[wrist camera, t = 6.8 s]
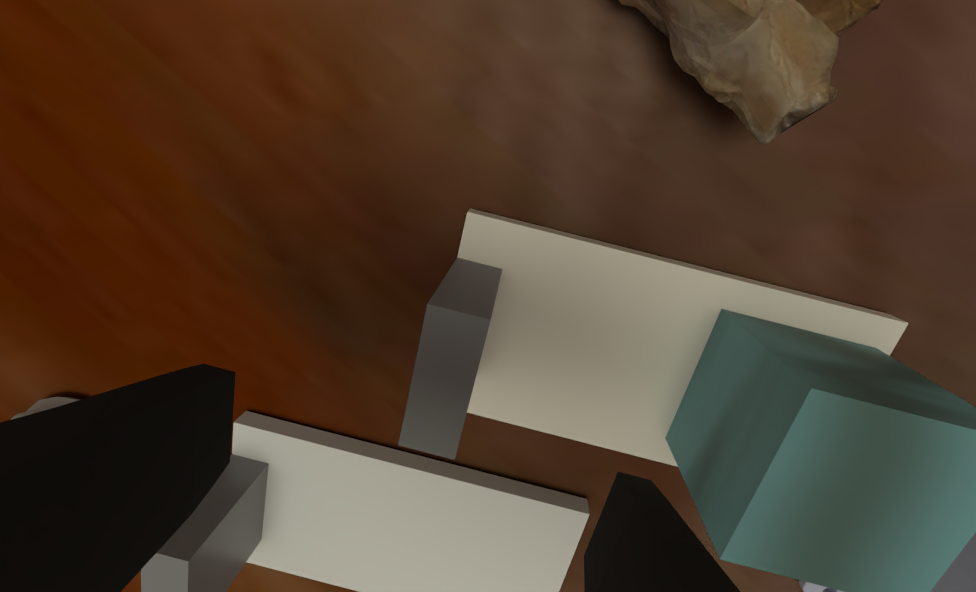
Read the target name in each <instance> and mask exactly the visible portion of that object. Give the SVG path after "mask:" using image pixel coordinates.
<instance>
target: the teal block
mask: <svg viewBox="0 0 976 592" xmlns="http://www.w3.org/2000/svg"><path fill="white" fill-rule="evenodd" d="M665 439H666V441H667V443H668V445H669V448H670V450H671V452H672V454H673V457H674V459H675V461H676V463H677V465H678V468H679V470H680V472H681V474H682V477H683V479H684V481H685V483H686V486H687V488H688V490H689V492H690V494H691V497H692V499H693V501H694V503H695V506H696V508H697V510H698V512H699V515H700V517H701V519H702V521H703V523H704V526H705V528H706V530H707V532H708V535H709V537H710V539H711V541H712V544H713V546H714V548H715V550H716V552H717V555H718V557H719V559H720V560H724V561H728V562H732V563H736V564H739V565H743V566H747V567H751V568H755V569H759V570H763V571H766V572H770V573H774V574H778V575H782V576H786V577H790V578H794V579H797V580H801V581H805V582H809V583H813V584H817V585H821V586H824V587H828V588H832V589H836V590H840V591H844V592H930V591H931V590H932V589H933V587H934V586H935V585H936V584H937V582H938V581H939V580H940V578H941V577H942V576H943V574H944V573H945V572H946V570H947V569H948V568H949V567H950V565H951V564H952V563H953V561H954V560H955V559H956V557H957V556H958V555H959V553H960V552H961V551H962V550H963V548H964V547H965V546H966V544H967V543H968V542H969V540H970V539H971V538H972V536H973V535H974V534H975V533H976V407H974V406H972V405H971V404H969V403H967V402H966V401H964V400H962V399H961V398H959V397H957V396H956V395H954V394H952V393H951V392H949V391H947V390H946V389H944V388H942V387H941V386H939V385H937V384H936V383H934V382H932V381H931V380H929V379H927V378H926V377H924V376H922V375H921V374H919V373H917V372H916V371H914V370H912V369H911V368H909V367H907V366H906V365H904V364H902V363H901V362H899V361H897V360H896V359H894V358H892V357H891V356H889V355H887V354H886V353H884V352H882V351H881V350H879V349H877V348H875V347H871V346H867V345H863V344H859V343H855V342H851V341H847V340H843V339H839V338H835V337H831V336H827V335H823V334H819V333H815V332H811V331H808V330H804V329H800V328H796V327H792V326H788V325H784V324H780V323H776V322H772V321H768V320H764V319H760V318H756V317H752V316H748V315H744V314H740V313H736V312H733V311H729V310H725V309H721V311H720V313H719V315H718V318H717V320H716V322H715V325H714V327H713V329H712V332H711V334H710V336H709V338H708V341H707V343H706V345H705V348H704V350H703V352H702V355H701V357H700V359H699V361H698V364H697V366H696V368H695V371H694V373H693V375H692V378H691V380H690V382H689V385H688V387H687V389H686V391H685V394H684V396H683V398H682V401H681V403H680V405H679V408H678V410H677V412H676V414H675V417H674V419H673V421H672V424H671V426H670V428H669V431H668V433H667V435H666V437H665Z"/></svg>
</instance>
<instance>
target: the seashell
mask: <svg viewBox="0 0 976 592" xmlns="http://www.w3.org/2000/svg"><path fill="white" fill-rule="evenodd" d="M618 1H619V2H620V3H621V4H622V5H627V6H632V7H636V8H637V9H638V10H640V11H641V12H642V13H643V14H644V15H645V16H646V17H647V18H648V20H649V21H650V22H651V23H652V24H653V25H654V26H655V27H656V28H657V29H658V30H660V31H661V32H662V33H663V34H664V35H666V36H667V37H668V38H669V39H670V46H671V51H672V54H673V57H674V60H675V61H676V62H677V64H678V65H679V66H680V67H681V69H682V70H683V71H684V72H686V73H688V74H690V75H692V76H694V77H695V78H696V79H697V81H698V82H699V84H700V85H701V86H702V88H703V89H704V90H705V92H707V93H708V94H710V95H711V96H713V97H714V98H715V99H716V100H717V101H718V102H720V103H723V104H724V105H726V106H727V107H728V108H730V109H731V110H733V111H734V113H735V114H736V115H737V116H738V118H739V119H740V120H741V121H742V123H743V124H744V125H745V127H746V128H747V129H748V130H749V132H750V133H751V134H752V135H753V136H754V137H755V138H756V139H757V140H758V142H759V143H760V144H761V145H763V144H766V143H768V142H770V141H772V140H774V139H775V138H776V137H777V136H778V135H779V134H780V133H782V132H783V131H785V130H787V129H788V128H790V127H792V126H793V125H795V124H796V123H798V122H800V121H801V120H803V119H805V118H806V117H808V116H809V115H811V114H813V113H814V112H816V111H817V110H819V109H821V108H822V107H824V106H826V105H827V104H829V103H830V102H832V101H834V100H835V99H836V97H837V95H838V93H839V92H838V89H837V88H835V87H831V86H830V75H831V69H832V66H833V64H834V61H835V59H836V56H837V50H838V38H839V37H838V36H839V35H840V34H841V33H842V32H843V31H845V30H846V29H848V28H850V27H851V26H853V25H854V24H855V23H856V22H858V21H859V20H860V19H861V18H862V17H863V16H865V15H866V14H868V13H869V12H871V11H873V10H875V9H878V7H879V6H880V4H881V3H882V1H883V0H618Z"/></svg>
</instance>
